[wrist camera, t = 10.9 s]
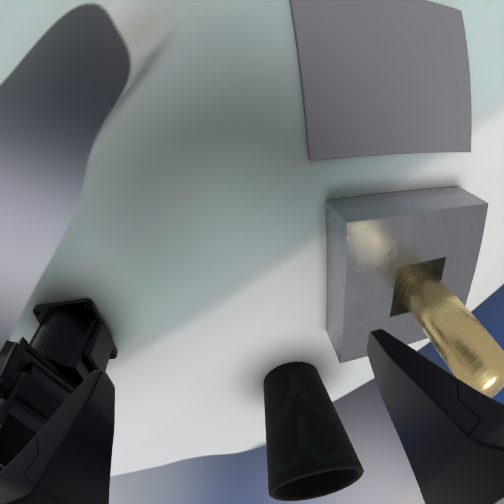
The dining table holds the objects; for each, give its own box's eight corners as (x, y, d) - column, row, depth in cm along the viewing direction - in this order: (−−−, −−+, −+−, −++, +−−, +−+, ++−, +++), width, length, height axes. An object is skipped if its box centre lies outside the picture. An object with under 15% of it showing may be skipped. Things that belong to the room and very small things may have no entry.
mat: (309, 159, 20) (310, 160, 19) (287, -15, 14) (288, -16, 14) (467, 150, 20) (470, 152, 20) (458, 11, 15) (461, 10, 14)
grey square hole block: (326, 330, 27) (339, 362, 23) (325, 200, 21) (346, 223, 18) (437, 302, 27) (457, 327, 24) (457, 186, 22) (488, 203, 18)
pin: (371, 273, 25) (462, 408, 12) (388, 239, 23) (500, 365, 11) (399, 280, 25) (489, 402, 13) (416, 248, 24) (522, 363, 12)
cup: (283, 344, 27) (314, 465, 17) (342, 366, 30) (382, 466, 19) (238, 391, 30) (250, 499, 19) (296, 407, 32) (319, 501, 22)
